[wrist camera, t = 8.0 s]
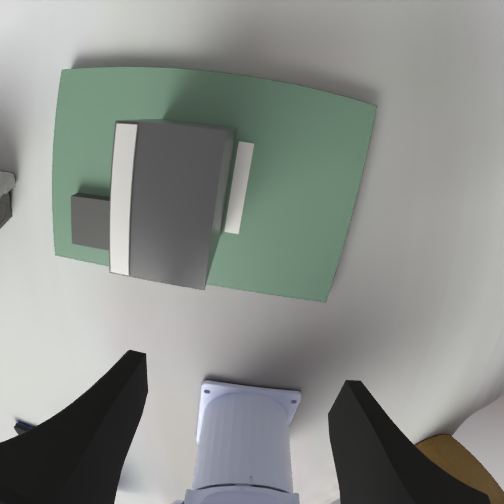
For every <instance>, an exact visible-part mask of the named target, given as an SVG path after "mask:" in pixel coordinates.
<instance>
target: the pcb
mask: <svg viewBox="0 0 504 504" xmlns="http://www.w3.org/2000/svg"><path fill="white" fill-rule="evenodd" d="M376 108H377V106H375V105H371V104H368V103H365V102H362V101H358V100H355V99H351V98H348V97H344V96H340V95H337V94H333V93H329V92H325V91H321V90H317V89H312V88H308V87H304V86H299V85H294V84H289V83H284V82H279V81H274V80H268V79H263V78H256V77H250V76H244V75H236V74H229V73H221V72H212V71H202V70H191V69H177V68H158V67H96V68H78V69H65V70H62V72H61V78H60V85H59V92H58V100H57V108H56V118H55V129H54V143H53V165H52V210H53V232H54V246H55V255H57V256H61V257H66V258H71V259H75V260H80V261H85V262H90V263H95V264H100V265H105V266H109V199H110V178H111V163H112V150H113V140H114V130H115V121H116V120H141V119H167V120H177V121H187V122H196V123H204V124H212V125H219V126H226V127H233V128H237V133H236V138H235V144H234V150H233V156H232V163H231V169H230V175H229V181H228V188H227V194H226V201H225V207H224V214H223V221H222V227H221V234H220V239H219V242H218V245H217V249H216V252H215V255H214V259H213V262H212V266H211V269H210V273H209V276H208V279H207V283H206V284H208V285H214V286H220V287H226V288H232V289H238V290H245V291H251V292H258V293H264V294H271V295H278V296H284V297H291V298H298V299H305V300H313V301H320V302H326V301H327V297H328V294H329V291H330V288H331V285H332V282H333V279H334V275H335V272H336V269H337V266H338V262H339V259H340V255H341V252H342V249H343V245H344V242H345V238H346V235H347V231H348V227H349V224H350V220H351V216H352V213H353V209H354V205H355V201H356V197H357V193H358V189H359V185H360V181H361V177H362V173H363V169H364V164H365V160H366V156H367V151H368V147H369V142H370V137H371V133H372V128H373V123H374V118H375V113H376Z"/></svg>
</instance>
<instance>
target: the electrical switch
mask: <svg viewBox="0 0 504 504" xmlns="http://www.w3.org/2000/svg"><path fill="white" fill-rule="evenodd" d="M15 184H16V183H15V177H14V174H12V173H9V172H3V171H0V228H1V227H2V226H3V225H4V224H5V223H6V222H7V221H8V220H9V219H10V218H11V217H12V212H11V208H10V197H9V193H8V192H9V191H10V190H11V189H13V188H14V187H15Z"/></svg>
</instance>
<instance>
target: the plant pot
mask: <svg viewBox="0 0 504 504" xmlns="http://www.w3.org/2000/svg"><path fill="white" fill-rule="evenodd" d="M415 446H416V447H417V448H418V449H419V450H420V451H421V452H422V453H423V454H424V455H425V456H427V457H428V458H429V459H430V460H431V461H432V462H434V463H435V464H436V465H438V466H439V467H440V468H442V469H443V470H444V471H446V472H447V473H449V474H450V475H452V476H453V477H455V478H456V479H458V480H460V481H461V482H463V483H465V484H466V485H468V486H470V487H472V488H475V489H477V490H479V491H481V492H483V493H485V494H488V496H489V499H490V502H491V504H504V492H503V490H502V489H501V487H500V486H499V485H498V483H497V482H496V481H495V480H494V478H493V477H492V476H491V474H490V473H489V472H488V471H487V470H486V469H485V468H484V467H483V465H482V464H481V463H480V462H479V461H478V460H477V459H476V458H475V457H474V456H473V455H472V454H471V453H470V452H469V451H468V450H467V449H466V448H465V447H464V446H462V445H461V444H460V443H459V442H458V441H457V440H455V439H454V438H453V437H452V436H450V435H446V434H444V435H438V436H434V437H431V438H429V439H427V440H424V441H422V442H420V443H418V444H417V445H415Z"/></svg>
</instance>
